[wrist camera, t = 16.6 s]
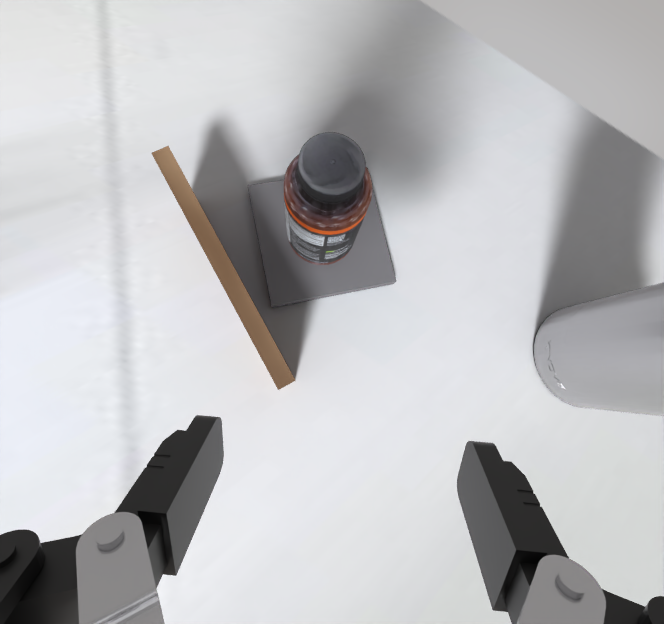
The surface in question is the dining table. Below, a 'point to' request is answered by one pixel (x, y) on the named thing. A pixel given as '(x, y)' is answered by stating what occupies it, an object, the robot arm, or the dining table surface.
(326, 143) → the supplement bottle
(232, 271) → the walnut screen
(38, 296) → the dining table surface
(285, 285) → the charcoal pad
